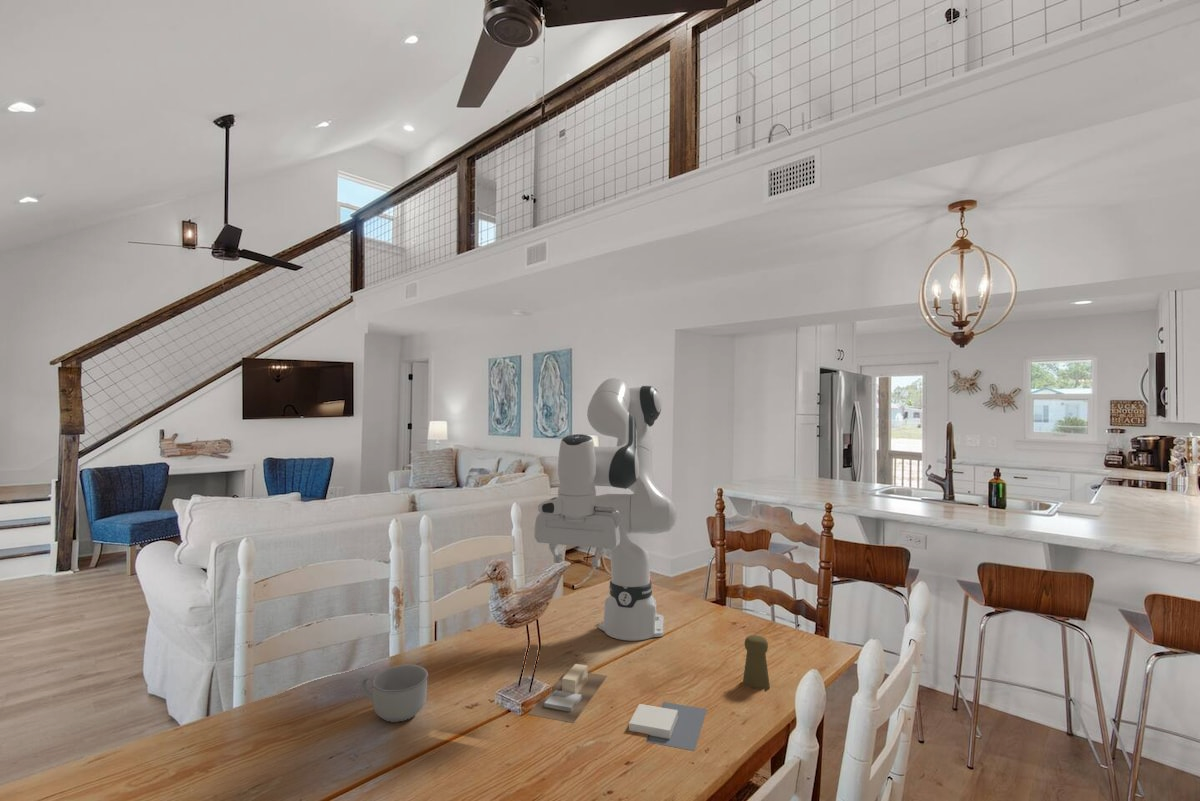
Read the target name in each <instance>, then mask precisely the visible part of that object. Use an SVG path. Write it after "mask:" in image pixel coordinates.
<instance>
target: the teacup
mask: <svg viewBox="0 0 1200 801" xmlns="http://www.w3.org/2000/svg"><path fill="white" fill-rule="evenodd" d="M428 676H429V673H428V670H427V669H426V668H424V667H423V666H420V665H417V664H407V663H406V664H397V665H394V666H389V667H387V668H385V669H383V670H381V671H379V672H378V673H377V674H373V673H367V674H365V675H363V677H362V678H361V680H360V682H359V687H360V690H361V692H362V693H363V695H364V696H365V697H367V698H368V699H369V700H371V701H372V704H373V705H372V706H373V709H374V712H375V714H376V715H377V716H378V717H379V718H381V719H383V720H384V721H387V722H389V721H390V722H389V723H400V722H399V721H402V722H405V721H408V720H410V719H412V718H413V717H415V716H416V715H417V714H418V713H419V712H421V710H422V709H423V708H424V706H425V704H426V701H427V696H428V694H427V693H428V678H429V677H428ZM367 681H370V682H371V683H372V691H371V689H370V688H369V687H368V686H367ZM411 717H412V718H411ZM407 719H408V720H407ZM404 720H405V721H404Z"/></svg>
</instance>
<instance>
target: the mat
mask: <svg viewBox="0 0 1200 801" xmlns="http://www.w3.org/2000/svg"><path fill="white" fill-rule="evenodd" d="M661 707H662V708H668V709H674V710H678V719H677V722H676V724H675V727H674V730H673V732H672V735H671V737H670V739H667V738H661V737H656V736H651V735H649V734H648V736H647V738H646V740H645V743H651V744H654V745H655V744H656V745H660V746H665V747H669V748H670V747H671V748H677V749H682V750H686V751H692V752H695V751H696V748H697V745H698V741H699V737H700V734H701V731H702V729H703V724H704V720H705V717H706V713H707V710H708V709H707V708H702V707H697V706H689V705H684V704H678V703H672V702H666V701H663V703H662V705H661Z"/></svg>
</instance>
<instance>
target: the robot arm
mask: <svg viewBox="0 0 1200 801" xmlns="http://www.w3.org/2000/svg"><path fill="white" fill-rule="evenodd" d="M586 411H587V413H586V416H587V421H588V424H589V425H590V426H591V428H593V430H594V431H595V432H597V433H599V434H601V435H603V436H607V437H611V438H612V437H613V438H616V439H617V441H616V446H595V442H594V439H593V437H592V436H590V435H587V434H572V435H571V434H570V435H567V436H564V437H563V438H562V439H561V441H560V445H559V451H558V461H557V463H558V464H557V476H558V479H559V486H558V489H557V490H558V491H557V496H556V497H552V498H549V499H546V500H544V501H542V502H540V503H539V504H538V506H537V511H538V513H539V514H537V515H536V518H535V524H534V539H535V541H536V542H537V543H539V544H548V545H549V546H548V549H549V550H550V552H551V554H552V555H553V563H554V564H555V563H556V564H561V563H562V562H563V553H559V550H558V548H557V547H558V546H560V545H561V546H563V545H564V546H572V547H583V548H592V549H593V548H594V549H595V551H596V553H598V554H597V555H596V557H595V556H594V557H593V558H592V559H591V567H592V568H593V567H595V568H599V567H600V566H601V558H602V556H603V554H604V553H605V551H606V550H608V551H609V555H610V556H609V558H610V569H611V570H610V571H611V573H610V574H611V577H610V578H611V580H609V596H608V597H607V598H606V599H605V600H604V606H603V607H604V610H603V621H602V622H601V621H600V623H599V624H598V629H599V630H600V631H603V632H604V633H605V634H606V635H607V636H609V637H611V638H613V639H617V640H621V641H644V640H648V639H652V638H660V637H663V636H664V624H665V618H664V615H662V614H659V613H657V600H656V598H655V597H654V596H653V585H652V583H653V579H652V578H651V556H650V554H649V552H648V551H647V550H646V549H645V548H644V547H642V546H641V545H638V544H637V543H635V542H633V541H632V540H631V538H630V537H629V534H630V535H631V534H645V535H647V534H648V535H654V534H655V535H656V534H661V533H666V532H667V533H668V532H670V531H672V529H673V528H674V526H675V525H676V522H677V519H678V518H677V517H678V516H677V514H678V512H677V508H676V505H675V503H674V502H673V500H672V499H671V498H670V497H669V496H667V495H665V494H664V493H663V492H662V491H661V490H660V489H659V488H658V486H657V484H656V483H655V480H654V475H653V462H652V460H653V450H652V449H653V448H652V447H653V446H652V444H653V443H652V437H651V433H650V432H651V431H650V429H649V427H650V428H651V427H652V426H653V425H654V424H655V421H656V420H658V417H659V416H660V414H661V411H662V399H661V396H660V393H659V391H658V390H657V389H656V388H655V387H654V386H652V385H641V387H640V386H639V387H638V386H637V387H629V386H628V384H627V382H625V381H623V380H622V379H620V378H616V377H614V378H613V377H612V378H608V379H605V380H604V381H602V383H601V384H600V385H598V387H597V389H596V390H595V391H594V393H593V395H592V397H591V399H590V401H589V404H588V407H587V410H586ZM596 487H613V488H617V489H618V488H619V489H625V490H627V489H628V490H630V491H631V492H632V494H628V493H627V494H626V493H607V494H600V495H597V489H596Z"/></svg>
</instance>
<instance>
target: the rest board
mask: <svg viewBox="0 0 1200 801" xmlns="http://www.w3.org/2000/svg"><path fill="white" fill-rule="evenodd" d="M569 670H570V669H567V670H565V671H564V673H563V674H562V675H561V676H560V677H559V678H558V680H557V681H556V682H555V683H554V684H553V685H552V686H551V687H552V690H551V693H550V694H549V695H547V696H546V697H545V698H543V699H542V698H541V699H540V700H538V702H537V703H536V704H535V705H534V707H532V709H531V710H530V711H529V712H527V715H528V716H534V717H539V718H544V719H545V718H546V719H549V720H553V721H554V720H555V721H559V722H560V721H561V722H566V723H571V724H574V723H575V722H576V721H577V719H578V718H579V716H580V715H581V714H582V713H583V711H584V709H585V708H586V707H587V706H588V704H589V702H590V701H591V700H592V698H593V697H594V696H595V694H596V693H597V691H598V690H599V689H600V687H601V686H602V684H603V683H604V681H605V680H606V678H607V677H608V675H603V674H598V673H592V672H588V681H587V683H586V684H585V685H584V686H583V688H582V689H581V690H580V691H579V693H578V694H581V695H582V698H581V700H580V701H579V702H578V704H577V705H576V706H575V708H574V709H573V710H572V711H571V712H570V711H564V710H559V709H554V708H548V707H544V703H545V702H546V701H547V699H548V698H549V697H550V696H551V695H552V694H553V693H554V691H555V690H558V691H562V678H563V677H564V676H565V675H566V674H567V673H568V672H569Z"/></svg>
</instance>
